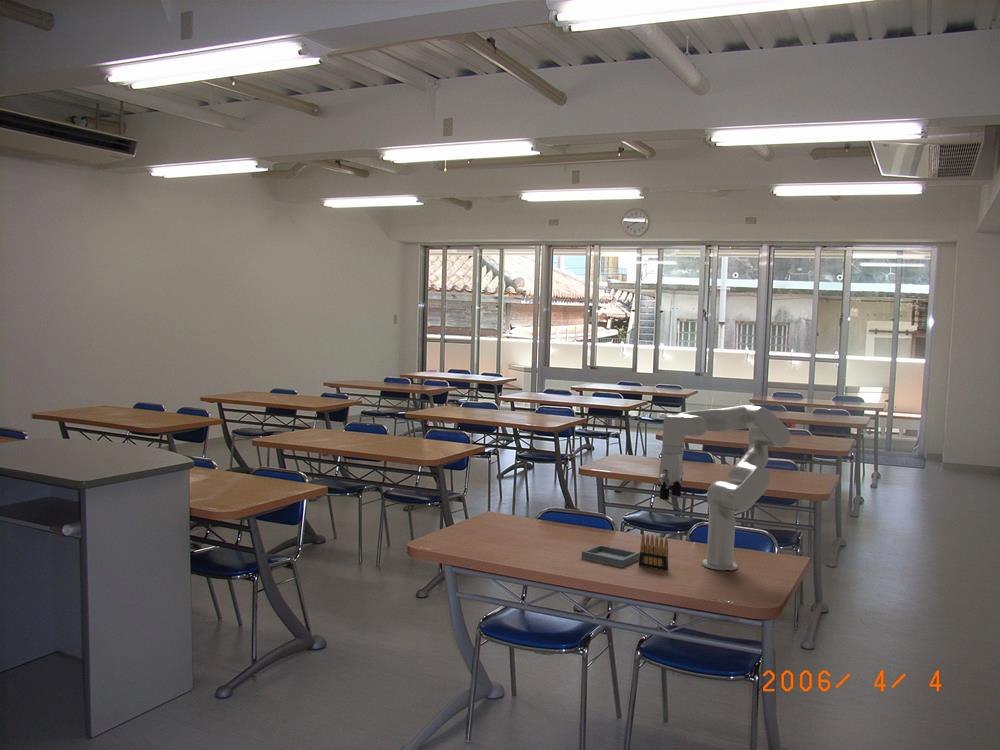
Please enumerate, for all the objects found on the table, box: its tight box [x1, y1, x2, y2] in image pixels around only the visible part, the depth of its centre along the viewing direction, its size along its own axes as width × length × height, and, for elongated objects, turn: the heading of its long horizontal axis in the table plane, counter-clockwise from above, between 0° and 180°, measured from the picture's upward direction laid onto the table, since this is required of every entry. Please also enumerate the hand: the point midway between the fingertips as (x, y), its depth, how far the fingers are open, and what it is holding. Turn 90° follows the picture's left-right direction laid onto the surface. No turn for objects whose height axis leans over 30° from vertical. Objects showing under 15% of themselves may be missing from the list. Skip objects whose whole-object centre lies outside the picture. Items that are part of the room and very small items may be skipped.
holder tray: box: [581, 544, 640, 568], centre depth 296 cm, size 14×17×3 cm
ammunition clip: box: [638, 532, 669, 571], centre depth 287 cm, size 11×2×12 cm, turn 60°
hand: (670, 497), depth 280 cm, fingers open, 9 cm apart
